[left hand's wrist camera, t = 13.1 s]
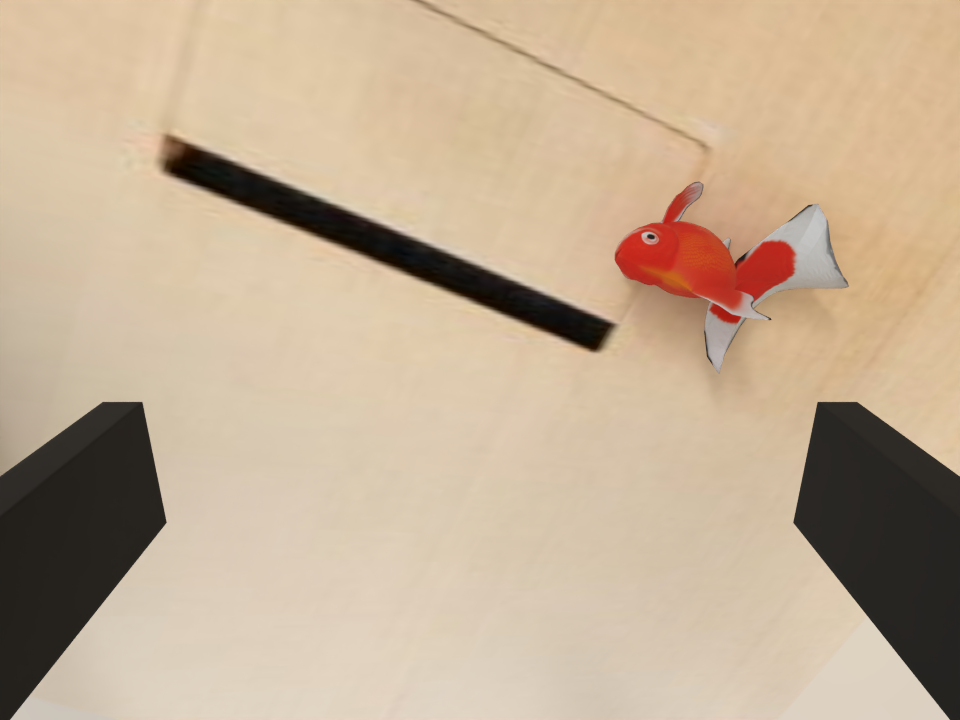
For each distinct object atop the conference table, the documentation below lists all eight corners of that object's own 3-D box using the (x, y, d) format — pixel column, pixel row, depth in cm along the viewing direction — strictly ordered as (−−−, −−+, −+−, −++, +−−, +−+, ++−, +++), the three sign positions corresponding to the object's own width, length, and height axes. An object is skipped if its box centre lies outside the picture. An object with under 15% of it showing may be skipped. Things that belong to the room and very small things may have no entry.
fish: (690, 91, 35) (778, 199, 29) (831, 199, 43) (923, 301, 37) (565, 231, 41) (615, 346, 35) (711, 302, 49) (772, 404, 43)
